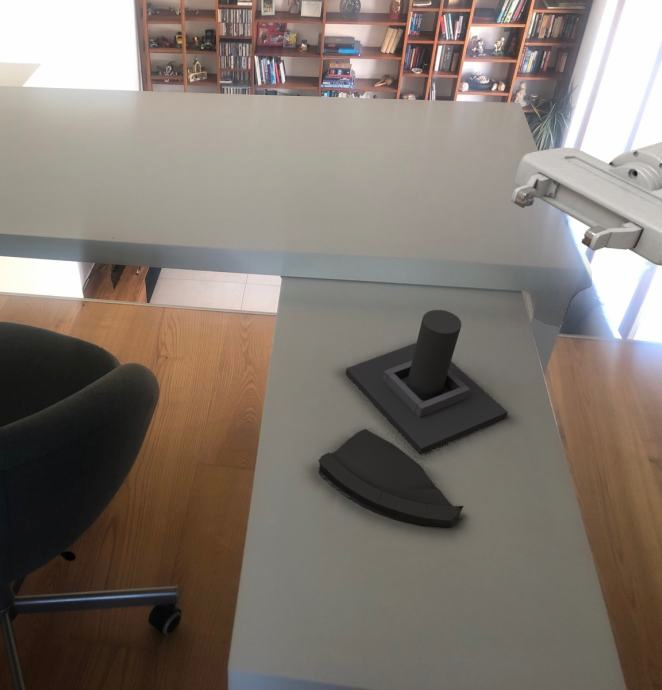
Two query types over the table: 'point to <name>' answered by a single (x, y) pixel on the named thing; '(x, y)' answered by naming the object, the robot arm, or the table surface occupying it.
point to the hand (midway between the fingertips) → (551, 218)
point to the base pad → (424, 401)
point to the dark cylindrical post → (433, 353)
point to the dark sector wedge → (386, 481)
